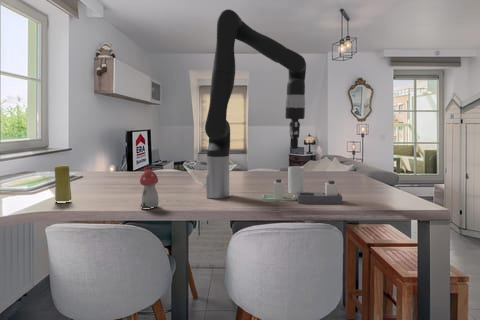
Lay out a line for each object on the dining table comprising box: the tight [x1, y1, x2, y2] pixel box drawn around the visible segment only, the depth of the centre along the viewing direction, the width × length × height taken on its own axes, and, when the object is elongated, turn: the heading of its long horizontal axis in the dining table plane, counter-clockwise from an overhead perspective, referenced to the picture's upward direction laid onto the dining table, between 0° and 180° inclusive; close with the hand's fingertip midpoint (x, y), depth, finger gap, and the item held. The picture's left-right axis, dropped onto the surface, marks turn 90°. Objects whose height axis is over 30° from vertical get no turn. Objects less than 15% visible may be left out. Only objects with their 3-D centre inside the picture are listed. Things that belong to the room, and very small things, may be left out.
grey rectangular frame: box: [296, 192, 343, 205], centre depth 149 cm, size 16×7×4 cm, turn 86°
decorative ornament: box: [139, 166, 160, 208], centre depth 145 cm, size 9×6×15 cm
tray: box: [261, 194, 297, 203], centre depth 157 cm, size 13×9×2 cm
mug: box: [287, 165, 305, 195], centre depth 171 cm, size 10×7×12 cm, turn 167°
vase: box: [54, 165, 73, 201], centre depth 156 cm, size 6×6×14 cm
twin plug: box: [324, 180, 339, 196], centre depth 148 cm, size 4×4×8 cm
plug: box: [273, 178, 285, 199], centre depth 157 cm, size 4×4×8 cm
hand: (293, 147), depth 157 cm, fingers open, 8 cm apart
